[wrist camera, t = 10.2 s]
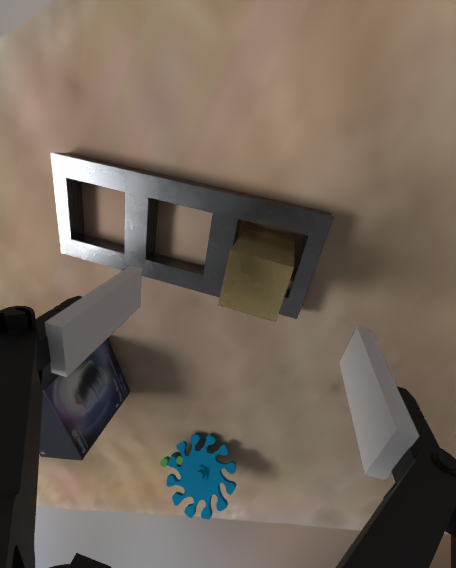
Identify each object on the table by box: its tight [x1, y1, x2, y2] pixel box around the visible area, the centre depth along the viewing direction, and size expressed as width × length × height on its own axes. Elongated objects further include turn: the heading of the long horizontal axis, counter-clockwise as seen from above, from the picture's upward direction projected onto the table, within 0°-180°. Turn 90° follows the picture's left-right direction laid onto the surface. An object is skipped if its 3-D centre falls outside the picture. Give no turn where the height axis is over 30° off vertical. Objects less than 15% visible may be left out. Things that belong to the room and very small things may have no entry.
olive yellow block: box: [218, 225, 295, 322], centre depth 23 cm, size 4×4×8 cm
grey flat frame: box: [51, 153, 333, 319], centre depth 27 cm, size 26×10×2 cm, turn 79°
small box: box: [39, 338, 130, 460], centre depth 34 cm, size 11×6×10 cm, turn 11°
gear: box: [161, 434, 236, 519], centre depth 40 cm, size 11×6×10 cm
